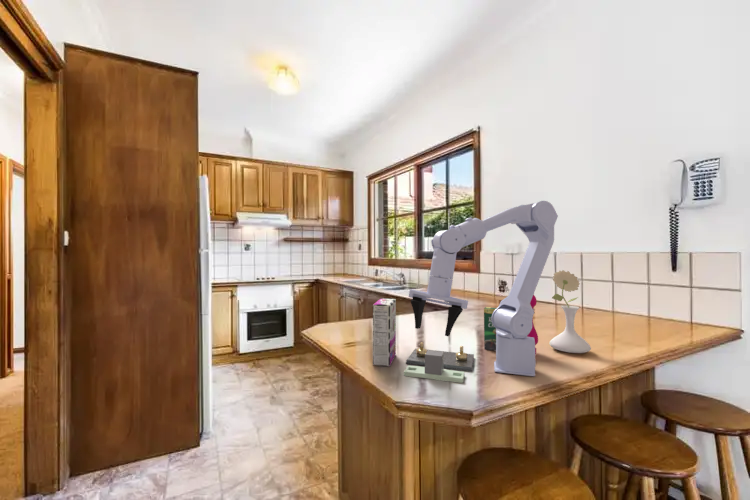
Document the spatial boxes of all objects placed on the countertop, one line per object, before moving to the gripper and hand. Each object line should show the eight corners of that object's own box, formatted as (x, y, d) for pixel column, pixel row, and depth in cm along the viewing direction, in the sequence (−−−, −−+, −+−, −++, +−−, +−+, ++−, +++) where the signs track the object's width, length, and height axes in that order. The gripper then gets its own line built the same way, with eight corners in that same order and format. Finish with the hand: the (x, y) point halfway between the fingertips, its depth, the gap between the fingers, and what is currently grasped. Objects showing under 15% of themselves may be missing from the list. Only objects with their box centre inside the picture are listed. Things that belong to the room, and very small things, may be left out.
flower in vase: (600, 355, 105) (601, 271, 106) (568, 357, 103) (569, 271, 103) (566, 343, 118) (567, 269, 118) (537, 345, 115) (538, 269, 115)
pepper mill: (543, 356, 104) (543, 288, 104) (519, 356, 103) (520, 288, 103) (530, 349, 111) (531, 285, 111) (508, 349, 110) (508, 285, 110)
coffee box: (482, 349, 110) (483, 307, 110) (484, 347, 113) (485, 306, 113) (510, 353, 106) (510, 309, 106) (511, 351, 109) (512, 308, 109)
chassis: (473, 357, 101) (474, 342, 101) (471, 371, 90) (471, 353, 90) (415, 351, 106) (415, 336, 106) (406, 363, 95) (406, 347, 95)
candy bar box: (379, 353, 104) (380, 298, 104) (396, 354, 103) (396, 298, 103) (371, 365, 93) (372, 303, 93) (390, 367, 92) (390, 304, 92)
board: (464, 375, 86) (464, 353, 86) (462, 383, 82) (463, 359, 82) (408, 369, 91) (408, 347, 91) (403, 375, 86) (404, 352, 86)
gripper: (408, 272, 87) (399, 326, 87) (466, 282, 81) (457, 341, 80) (417, 273, 94) (409, 324, 93) (472, 282, 87) (464, 337, 87)
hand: (432, 331), depth 87 cm, fingers open, 7 cm apart
